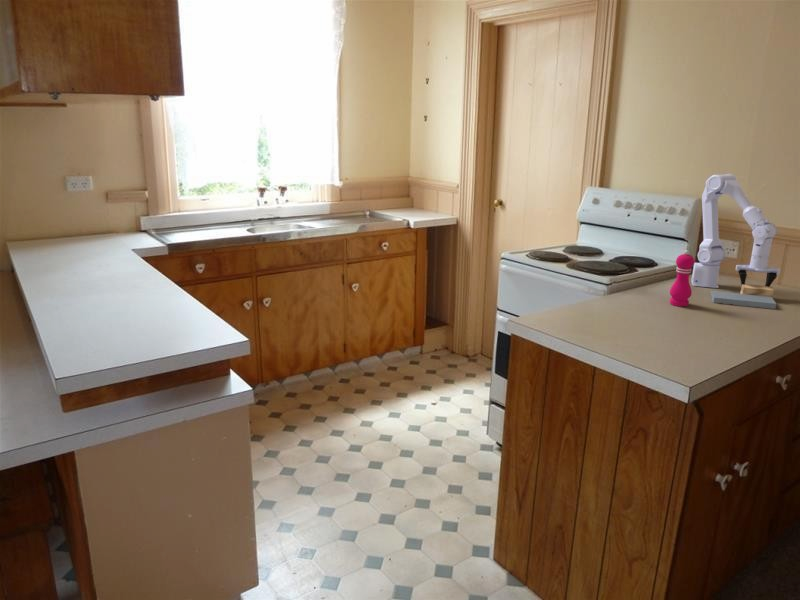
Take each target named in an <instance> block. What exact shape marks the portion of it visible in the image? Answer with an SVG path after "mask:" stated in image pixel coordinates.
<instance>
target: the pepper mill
mask: <svg viewBox="0 0 800 600" xmlns="http://www.w3.org/2000/svg"><path fill="white" fill-rule="evenodd" d="M694 263H695V258H694V257H693V256H692V254H691V255H690V251H689V250H687V249H685V250H684V251H683V254H680V255H678V257H676V259H675V264H676V270H675V272H676V278H675V281H674V282H673V284H672V285H671V287H670V289H669V295H670V296H671V297H670V299H669V304H670V305H671V304H672V305H671V306H674V305H675V307H679V306H686V307H688V306H689V303H690V301H689V299H690V298H691V296H692V288H691V284H690V280H689V279H690V274H691V273H692V271H693V268H692V267H694Z"/></svg>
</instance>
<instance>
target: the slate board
mask: <svg viewBox="0 0 800 600" xmlns="http://www.w3.org/2000/svg"><path fill="white" fill-rule="evenodd" d="M711 297H712V298H711ZM710 298H711V301H712V302H713V304H719V303H723V304H722V305H729V304H733V305H732V306H739V305H740V307H741V306H742V307H750V308H751V307H752V308H761V309H771V310H776V309H777V308H776V307H777V302H776V301H775V300H774V297H773V298H772V297H770V296H760V295H749V294H740V292H739V293H736V292H728V291H727V292H726V291H719V290H718V291H717V290H711V291H710Z"/></svg>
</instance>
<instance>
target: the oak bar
mask: <svg viewBox="0 0 800 600" xmlns="http://www.w3.org/2000/svg"><path fill="white" fill-rule="evenodd" d="M739 294H749V295H760V296H770V297H772V298H773V299H774V294H775V289H774V288H773V286H771V285H770V287H767V286H765V285H759V284H748V283H745V284H742V286H741V285H740V292H739Z"/></svg>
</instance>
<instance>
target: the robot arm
mask: <svg viewBox="0 0 800 600" xmlns="http://www.w3.org/2000/svg"><path fill="white" fill-rule="evenodd" d="M722 195H728V196H730V197H731V198H732V199H733V200H734V202H735V203H736V204H737V205H738V206H739V208H740V209H741V210H742V211H743V212H742V217H743V219H744V220H745V221H746V223H747V224H748V226H749V227H750V228H751V230H752V231H751V234H752V237H753V246H752V250H751V257H750V262H749V264H735V265H736V266H735V271H736V272H737V273H738V275H739V279H740V287H741V286H742V284H746V280H747V277H748V274H747V272H752V273H765V274H766V280H765V285H764V286H767V287H770V286H771V285H772V284H773V282H774V281H775V280H776V279H777V277H778V275H780V274H781V268H780V267H772V266H768V264H769V257H770V253H771V247H772V242H773V238H774V237H775V236H776V235H777V233H778V230H777V227H776V225H775V224H774V223H773V222H770V220H769V219H767V218H766V216H765V215H764V213H762V212H763V210H762V209H761V208H759V207H758V206H755V205H754V206H753V204H752V203H751V202H750V200H749V199H748V197H747V196H746V194H745V192H744V190H743V189H742V187H741V185H740V182H739V181H738V179H737V178H736V176H735V175H733V174H732V173H726V174H713V175H711V176H710V177H709V178H707V180H706V181H705V187H704V190H703V192H702V194H701V205H702V206H701V207H702V210H701V211H702V230H703V231H702V232H703V234H702V235H703V237H702V238H703V240H702V241H701V243H700V244H699V251H698V252H697V259H698V261H699V262H694V265H693V266H692V267H693V268H692V274H691V285H692V286H693V287H704V288H705V287H706V288H714V289H718V288H719V285H718V278H719V272H720V267H721V261H724V259H725V257H726V250H725V249H724V245H723V242H722V241H721V239H720V232H719V210H718V209H719V206H718V204H719V203H718V199H720V197H722Z"/></svg>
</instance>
